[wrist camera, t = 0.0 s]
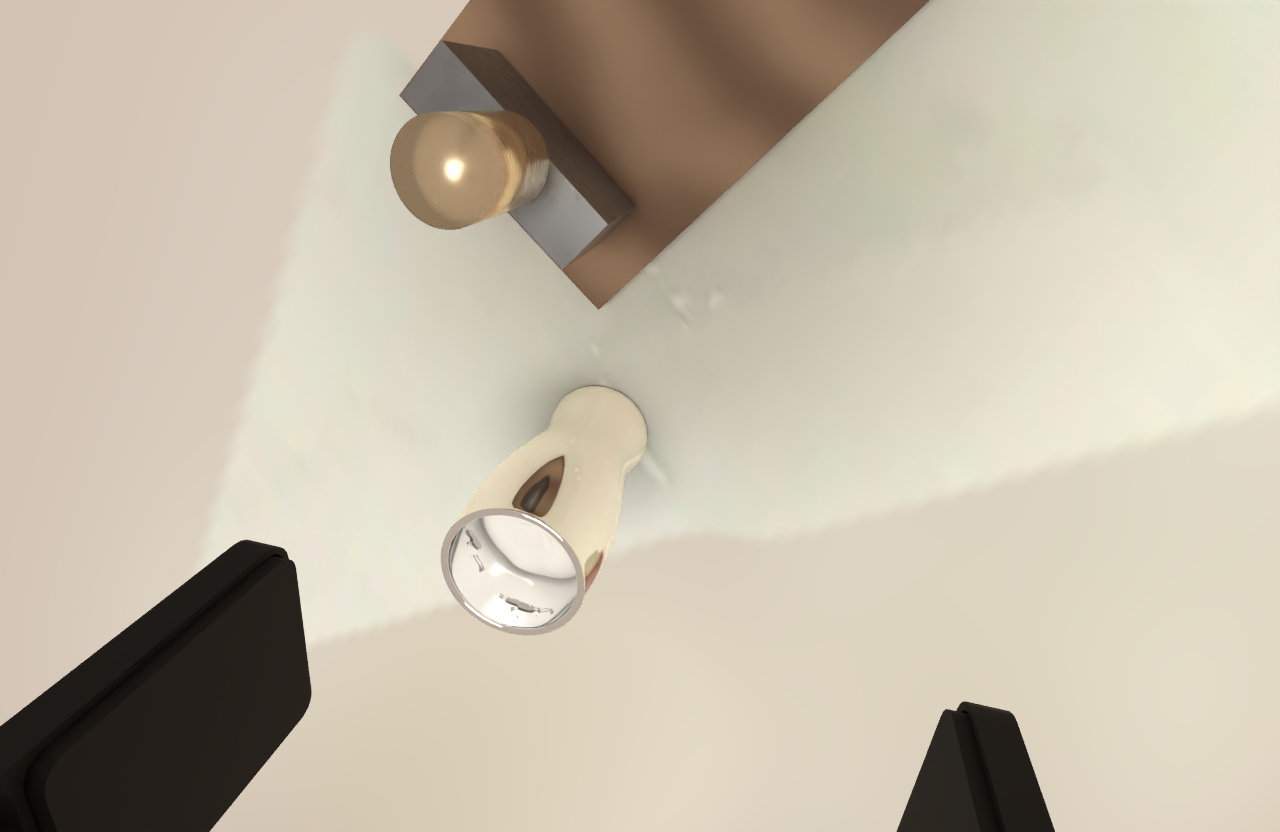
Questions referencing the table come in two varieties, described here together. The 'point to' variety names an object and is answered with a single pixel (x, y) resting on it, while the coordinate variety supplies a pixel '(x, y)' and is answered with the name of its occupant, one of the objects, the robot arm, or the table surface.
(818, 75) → the base
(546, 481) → the beer glass
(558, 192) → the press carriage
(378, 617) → the table surface
